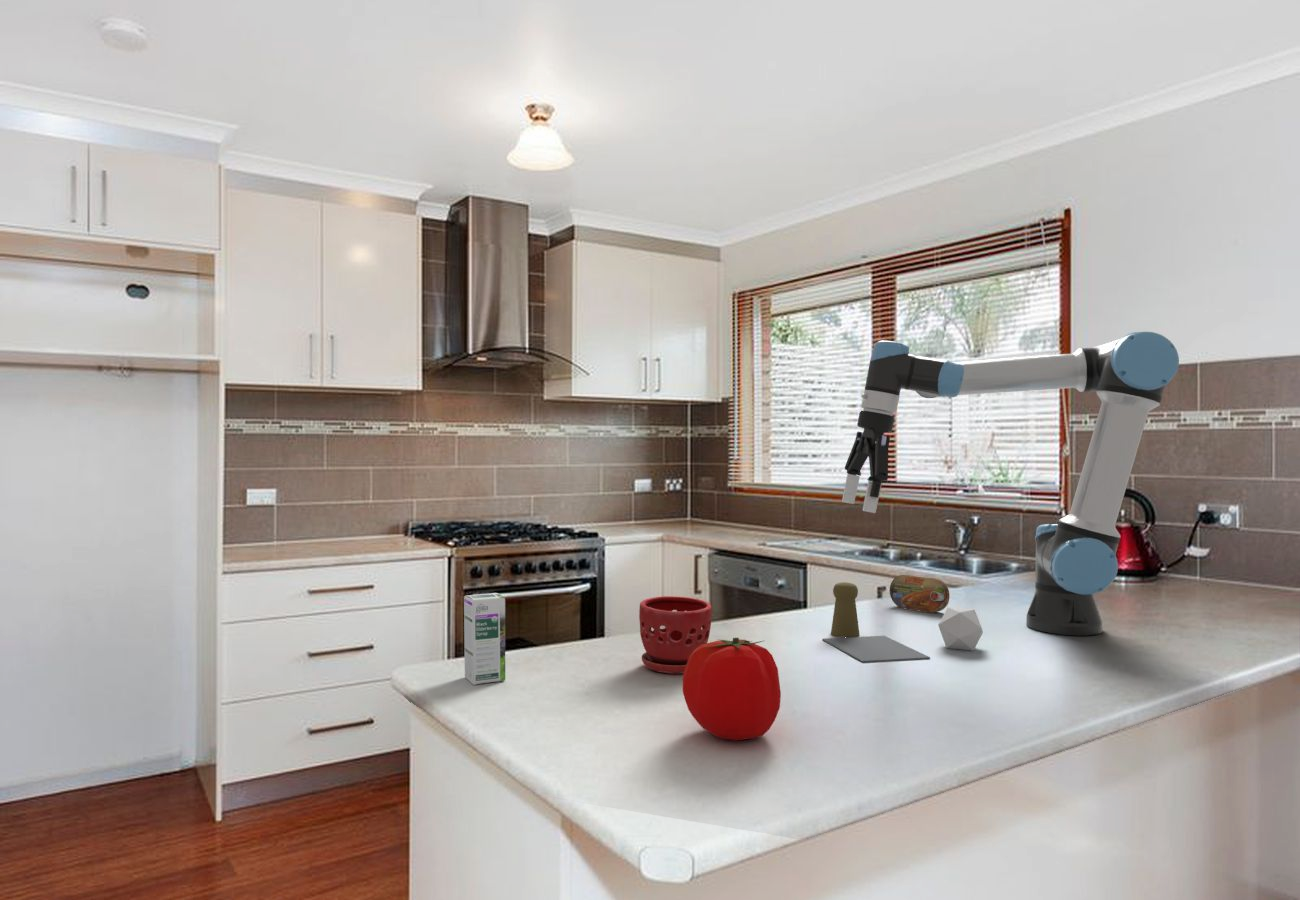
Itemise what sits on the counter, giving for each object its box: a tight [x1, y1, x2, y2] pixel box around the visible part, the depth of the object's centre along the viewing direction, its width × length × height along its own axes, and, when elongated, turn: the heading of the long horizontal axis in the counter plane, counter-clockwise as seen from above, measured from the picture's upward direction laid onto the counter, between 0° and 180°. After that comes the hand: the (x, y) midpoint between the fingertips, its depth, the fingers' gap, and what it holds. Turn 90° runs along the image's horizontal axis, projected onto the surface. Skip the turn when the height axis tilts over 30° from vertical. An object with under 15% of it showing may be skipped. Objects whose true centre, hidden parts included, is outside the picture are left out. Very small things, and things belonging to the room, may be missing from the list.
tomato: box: [682, 637, 782, 741], centre depth 119 cm, size 16×14×14 cm
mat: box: [822, 635, 931, 663], centre depth 168 cm, size 18×14×1 cm
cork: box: [830, 582, 860, 638], centre depth 180 cm, size 6×6×11 cm
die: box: [937, 606, 983, 652], centre depth 169 cm, size 8×9×10 cm
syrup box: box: [463, 592, 506, 686], centre depth 145 cm, size 6×6×14 cm
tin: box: [889, 574, 950, 614], centre depth 207 cm, size 15×3×8 cm, turn 43°
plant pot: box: [638, 595, 713, 675], centre depth 153 cm, size 13×13×12 cm
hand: (857, 507), depth 185 cm, fingers open, 13 cm apart
